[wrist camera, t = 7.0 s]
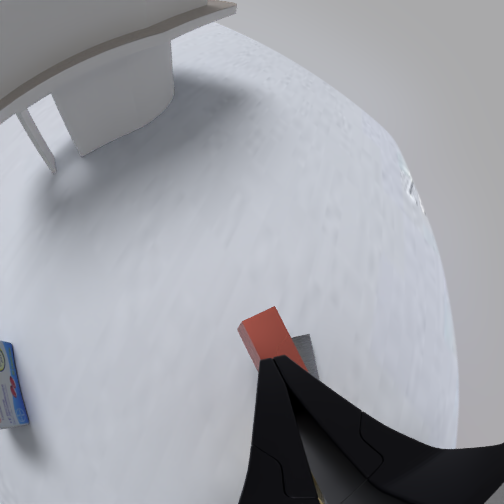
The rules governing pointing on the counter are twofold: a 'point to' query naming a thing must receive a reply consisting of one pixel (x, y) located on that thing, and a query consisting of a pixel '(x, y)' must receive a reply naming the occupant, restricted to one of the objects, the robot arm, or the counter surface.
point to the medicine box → (10, 391)
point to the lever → (270, 344)
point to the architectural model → (94, 62)
